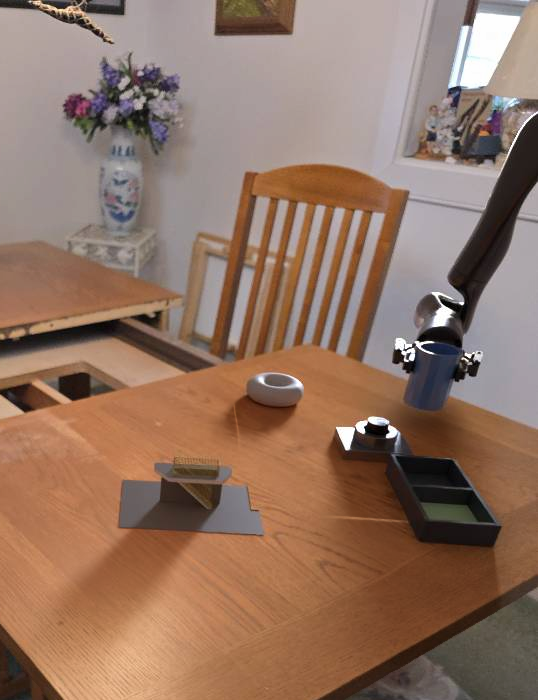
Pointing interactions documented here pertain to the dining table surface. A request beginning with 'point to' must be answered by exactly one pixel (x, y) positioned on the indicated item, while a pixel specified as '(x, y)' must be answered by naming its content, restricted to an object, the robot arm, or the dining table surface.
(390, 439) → the control block
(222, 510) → the platform
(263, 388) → the donut
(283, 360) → the dining table surface
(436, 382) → the cup
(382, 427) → the button
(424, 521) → the black divided tray
